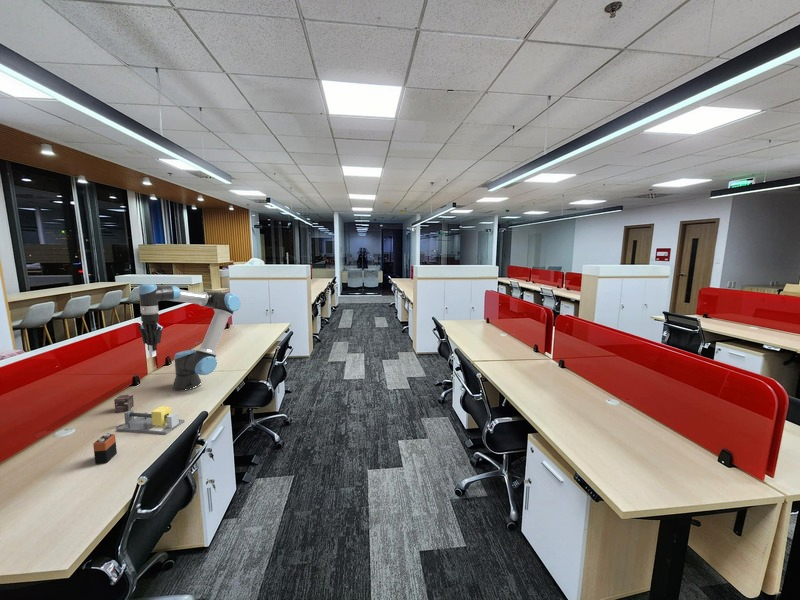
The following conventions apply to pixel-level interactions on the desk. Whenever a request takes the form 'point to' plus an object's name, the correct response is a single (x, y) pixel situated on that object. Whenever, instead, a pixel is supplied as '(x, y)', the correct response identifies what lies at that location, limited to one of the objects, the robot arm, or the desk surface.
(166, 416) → the gray rail plate
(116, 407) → the box
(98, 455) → the battery
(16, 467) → the desk surface
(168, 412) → the sleeve
